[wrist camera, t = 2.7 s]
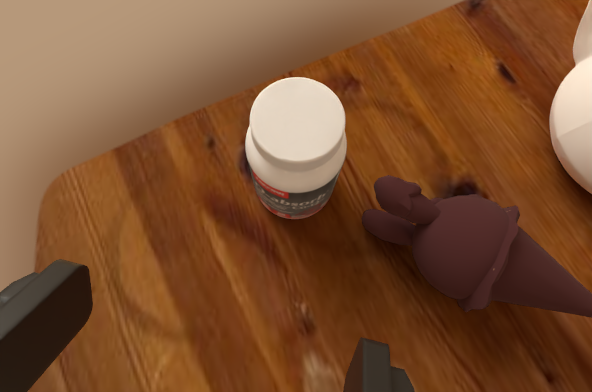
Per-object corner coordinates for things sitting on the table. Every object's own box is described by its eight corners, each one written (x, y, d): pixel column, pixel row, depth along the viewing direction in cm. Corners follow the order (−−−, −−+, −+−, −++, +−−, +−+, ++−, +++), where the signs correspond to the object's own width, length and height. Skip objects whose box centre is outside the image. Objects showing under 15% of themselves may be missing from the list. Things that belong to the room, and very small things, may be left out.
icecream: (663, 237, 20) (403, 126, 24) (661, 368, 17) (354, 216, 20) (575, 281, 26) (376, 187, 30) (560, 385, 23) (335, 265, 26)
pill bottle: (252, 218, 27) (230, 169, 18) (258, 145, 29) (242, 63, 19) (332, 223, 27) (355, 175, 18) (334, 149, 29) (355, 69, 19)
